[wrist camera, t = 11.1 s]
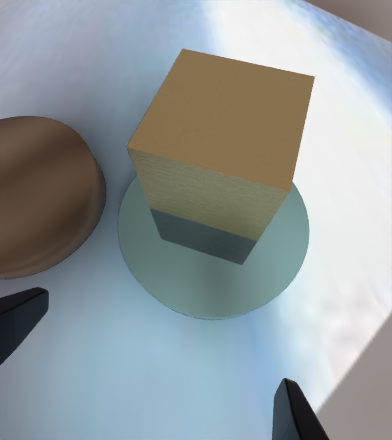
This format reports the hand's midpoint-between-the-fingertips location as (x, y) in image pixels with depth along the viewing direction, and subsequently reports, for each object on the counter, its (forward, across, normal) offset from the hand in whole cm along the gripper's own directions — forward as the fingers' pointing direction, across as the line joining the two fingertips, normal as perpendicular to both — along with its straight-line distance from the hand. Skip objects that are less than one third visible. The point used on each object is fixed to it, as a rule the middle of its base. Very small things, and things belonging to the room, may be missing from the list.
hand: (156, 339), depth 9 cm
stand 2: (+12, 0, 0) cm, 12 cm away
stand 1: (+10, +15, +2) cm, 19 cm away
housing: (+10, 0, -2) cm, 10 cm away
